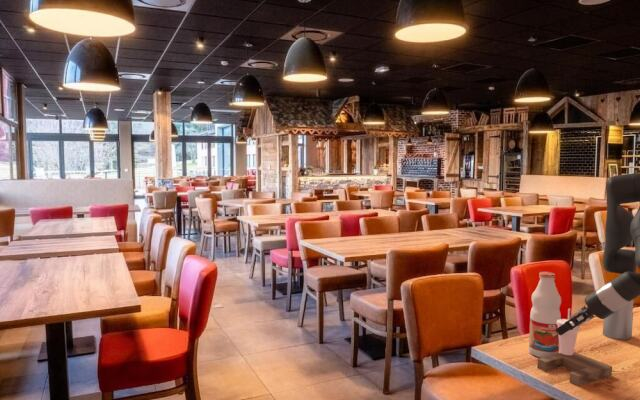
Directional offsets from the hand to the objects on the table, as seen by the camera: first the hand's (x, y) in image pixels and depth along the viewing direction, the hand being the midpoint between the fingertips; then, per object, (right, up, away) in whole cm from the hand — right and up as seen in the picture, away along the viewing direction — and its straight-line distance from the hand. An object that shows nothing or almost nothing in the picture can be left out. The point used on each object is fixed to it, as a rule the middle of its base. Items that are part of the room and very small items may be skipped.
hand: (561, 329), depth 151 cm
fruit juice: (+2, -13, +16) cm, 21 cm away
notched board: (+5, -14, +2) cm, 15 cm away
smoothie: (+1, -7, -1) cm, 7 cm away
